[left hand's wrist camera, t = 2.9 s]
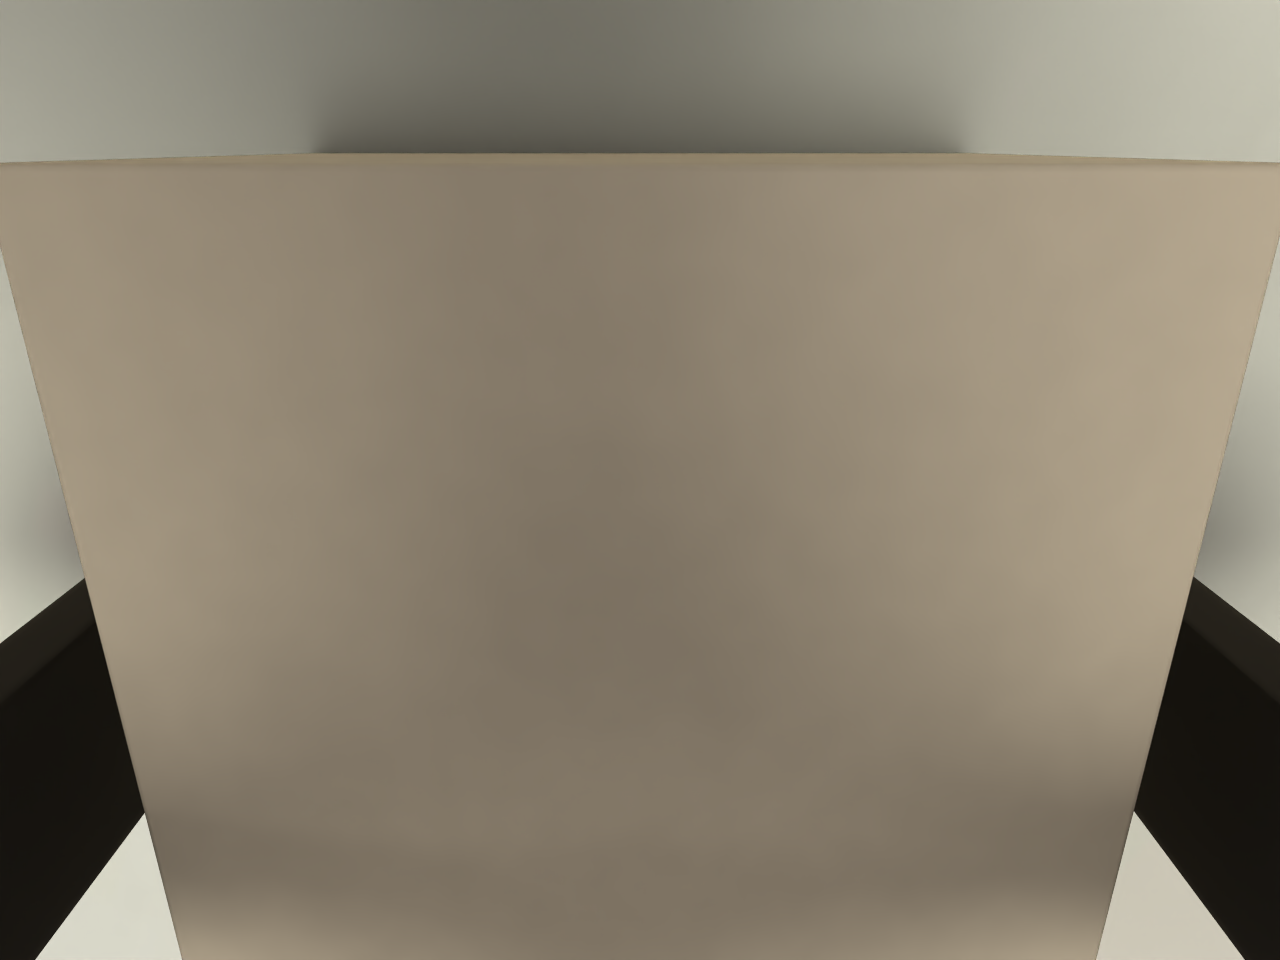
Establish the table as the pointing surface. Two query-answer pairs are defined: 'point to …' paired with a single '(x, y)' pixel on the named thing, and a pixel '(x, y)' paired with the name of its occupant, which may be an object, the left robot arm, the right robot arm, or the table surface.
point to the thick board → (639, 533)
